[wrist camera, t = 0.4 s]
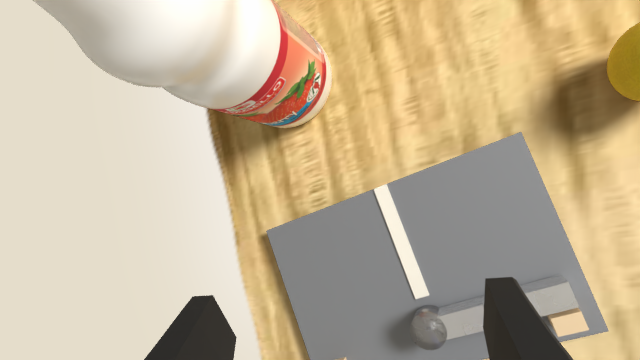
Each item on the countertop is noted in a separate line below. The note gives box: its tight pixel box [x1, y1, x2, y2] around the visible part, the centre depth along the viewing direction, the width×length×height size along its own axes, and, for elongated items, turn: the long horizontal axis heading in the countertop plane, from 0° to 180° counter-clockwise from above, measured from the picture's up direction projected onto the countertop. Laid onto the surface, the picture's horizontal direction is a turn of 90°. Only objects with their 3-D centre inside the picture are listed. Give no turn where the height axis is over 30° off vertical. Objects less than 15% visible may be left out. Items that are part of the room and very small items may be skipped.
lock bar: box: [410, 275, 579, 350], centre depth 31 cm, size 12×3×2 cm, turn 111°
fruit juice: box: [33, 0, 332, 128], centre depth 28 cm, size 9×9×28 cm
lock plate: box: [266, 132, 608, 360], centre depth 34 cm, size 16×24×4 cm, turn 111°
